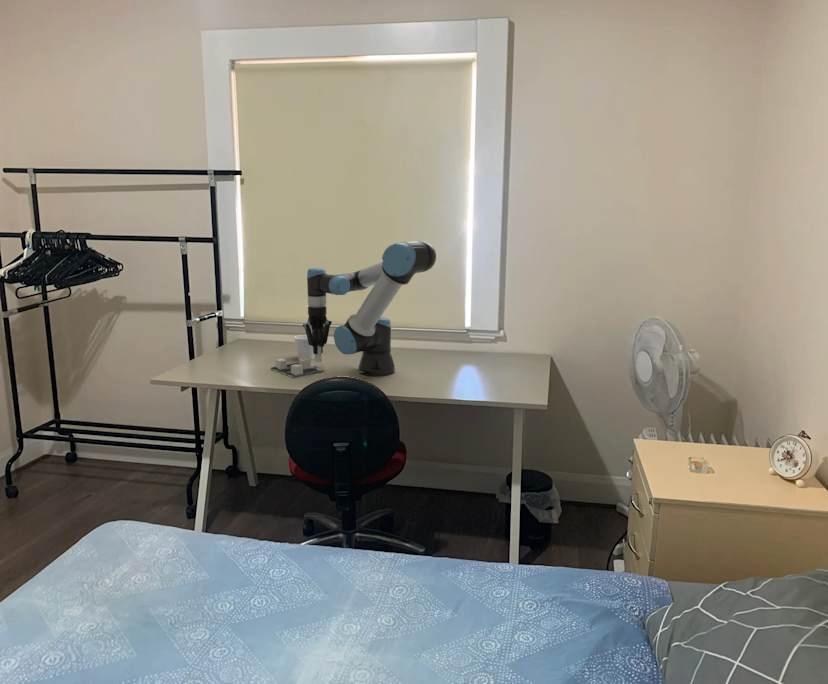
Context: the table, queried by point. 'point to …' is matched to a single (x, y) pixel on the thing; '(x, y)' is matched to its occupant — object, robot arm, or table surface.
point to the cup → (304, 347)
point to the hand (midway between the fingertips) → (318, 361)
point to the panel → (305, 372)
